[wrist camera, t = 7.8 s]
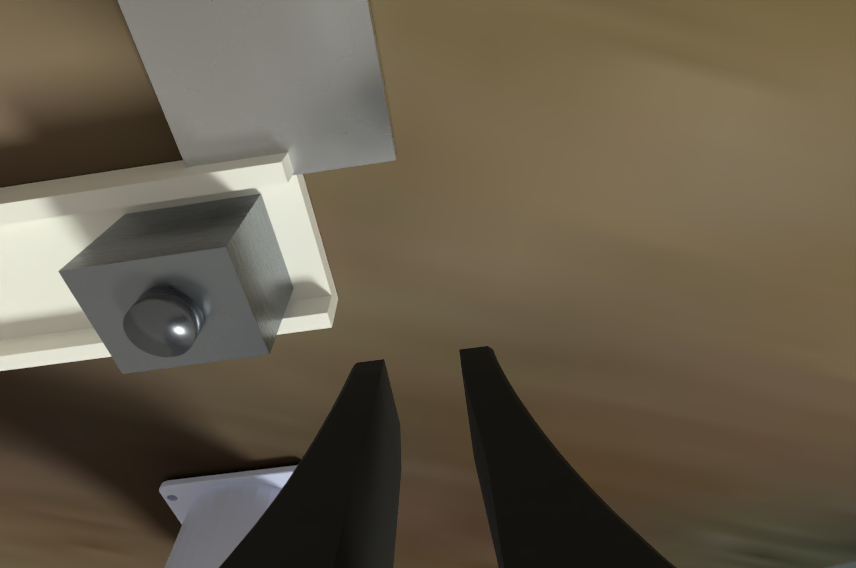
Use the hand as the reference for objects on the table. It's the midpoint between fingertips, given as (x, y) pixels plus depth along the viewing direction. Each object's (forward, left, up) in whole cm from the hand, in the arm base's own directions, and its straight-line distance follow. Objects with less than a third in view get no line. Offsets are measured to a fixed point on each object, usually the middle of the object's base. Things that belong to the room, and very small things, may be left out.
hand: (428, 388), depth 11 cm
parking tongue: (+6, +4, -9) cm, 12 cm away
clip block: (0, +8, -9) cm, 12 cm away
